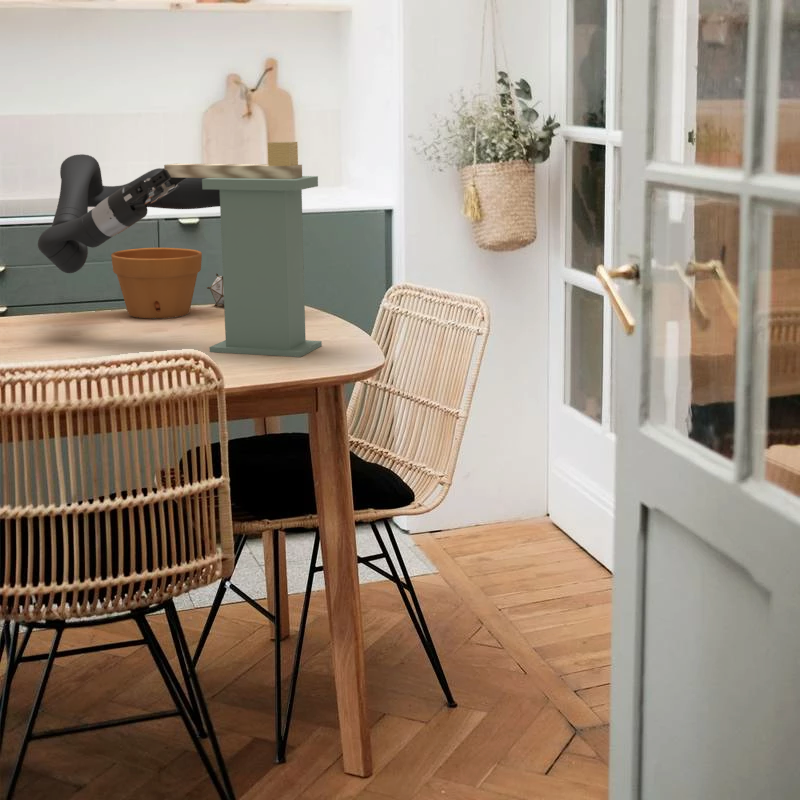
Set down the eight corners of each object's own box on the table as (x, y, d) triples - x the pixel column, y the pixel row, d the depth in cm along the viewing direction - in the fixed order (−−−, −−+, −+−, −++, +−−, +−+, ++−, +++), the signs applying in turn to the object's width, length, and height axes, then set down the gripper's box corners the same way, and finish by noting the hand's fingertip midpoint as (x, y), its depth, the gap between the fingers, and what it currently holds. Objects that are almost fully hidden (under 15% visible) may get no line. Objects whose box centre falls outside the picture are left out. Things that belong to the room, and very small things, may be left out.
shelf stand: (321, 345, 271) (317, 176, 263) (300, 356, 260) (295, 180, 252) (233, 341, 277) (227, 175, 269) (209, 351, 266) (202, 179, 258)
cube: (298, 164, 260) (297, 141, 259) (289, 166, 256) (288, 142, 254) (277, 164, 261) (276, 141, 260) (268, 165, 257) (267, 142, 256)
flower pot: (218, 308, 319) (215, 248, 315) (181, 323, 299) (178, 259, 295) (139, 305, 324) (136, 246, 321) (99, 319, 304) (94, 256, 301)
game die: (233, 319, 325) (255, 286, 325) (225, 313, 316) (248, 278, 317) (204, 300, 326) (226, 267, 326) (195, 293, 317) (218, 259, 318)
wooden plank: (302, 177, 260) (301, 164, 260) (292, 178, 256) (292, 166, 255) (176, 175, 268) (175, 163, 268) (164, 177, 264) (164, 164, 263)
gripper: (144, 224, 278) (202, 185, 272) (111, 230, 265) (170, 190, 259) (127, 193, 277) (184, 154, 271) (92, 198, 264) (151, 157, 258)
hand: (177, 172), depth 265 cm, fingers open, 8 cm apart
